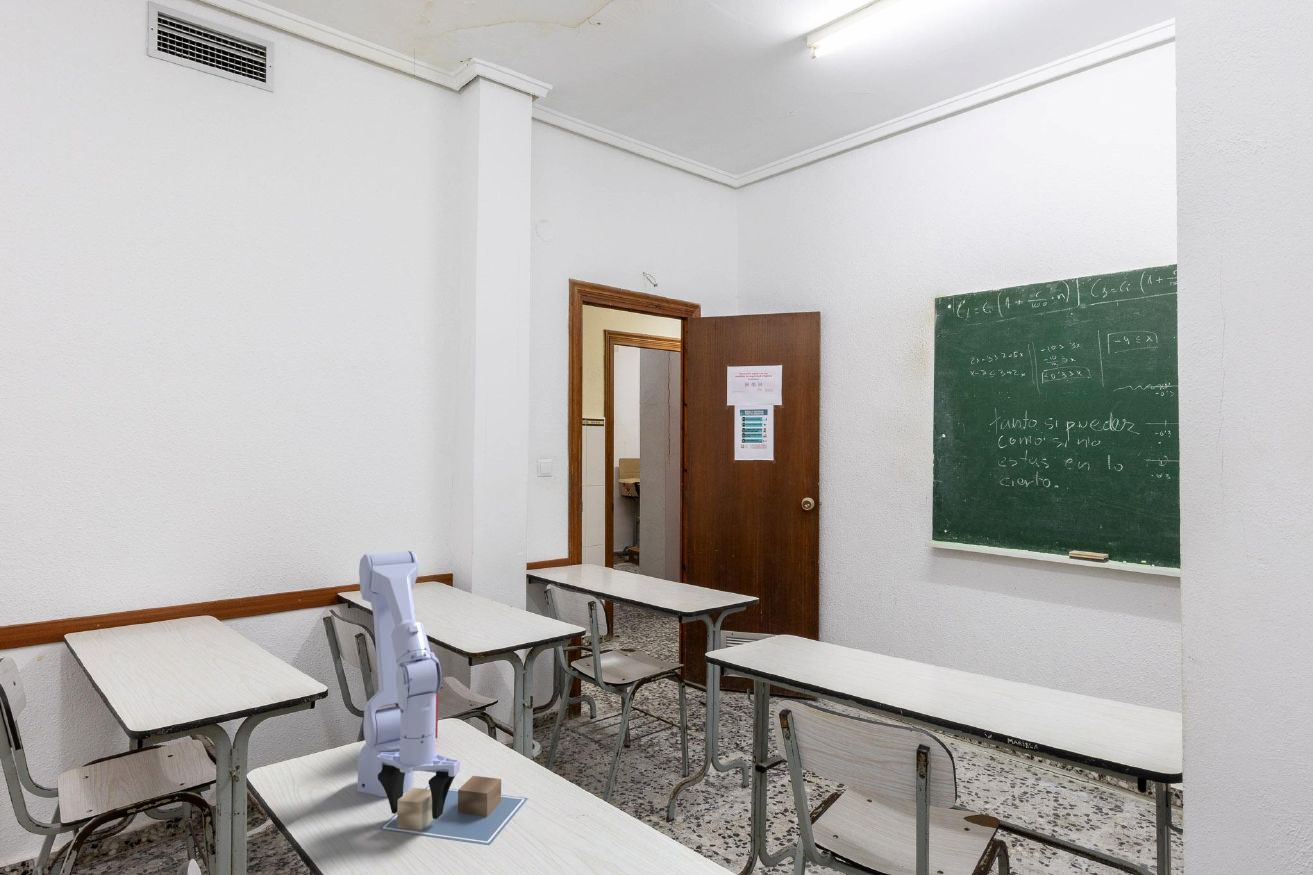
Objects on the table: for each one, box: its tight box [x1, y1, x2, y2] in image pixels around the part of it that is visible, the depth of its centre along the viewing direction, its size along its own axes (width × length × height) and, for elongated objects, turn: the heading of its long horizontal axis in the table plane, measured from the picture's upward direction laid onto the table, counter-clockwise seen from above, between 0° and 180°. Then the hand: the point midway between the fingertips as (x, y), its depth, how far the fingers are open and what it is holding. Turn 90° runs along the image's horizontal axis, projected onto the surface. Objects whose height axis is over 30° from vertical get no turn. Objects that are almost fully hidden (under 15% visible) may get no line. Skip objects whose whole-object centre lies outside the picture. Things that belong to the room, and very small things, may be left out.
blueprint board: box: [377, 785, 529, 846], centre depth 123 cm, size 20×16×1 cm
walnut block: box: [457, 775, 502, 817], centre depth 125 cm, size 6×6×4 cm
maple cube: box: [397, 787, 433, 831], centre depth 120 cm, size 4×4×4 cm
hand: (417, 813), depth 120 cm, fingers open, 7 cm apart
